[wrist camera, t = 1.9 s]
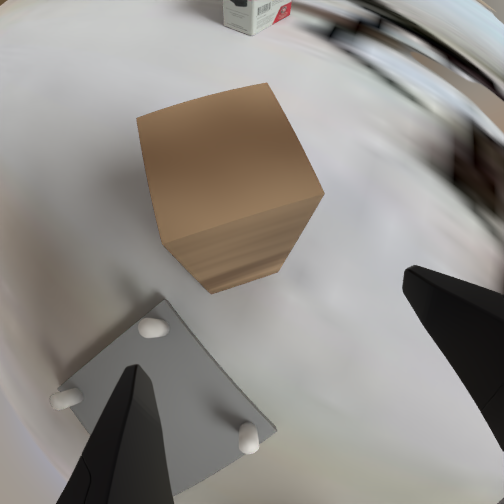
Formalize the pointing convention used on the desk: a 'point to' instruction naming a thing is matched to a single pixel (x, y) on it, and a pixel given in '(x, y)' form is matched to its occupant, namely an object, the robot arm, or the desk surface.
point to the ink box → (254, 14)
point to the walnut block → (228, 184)
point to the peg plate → (173, 396)
